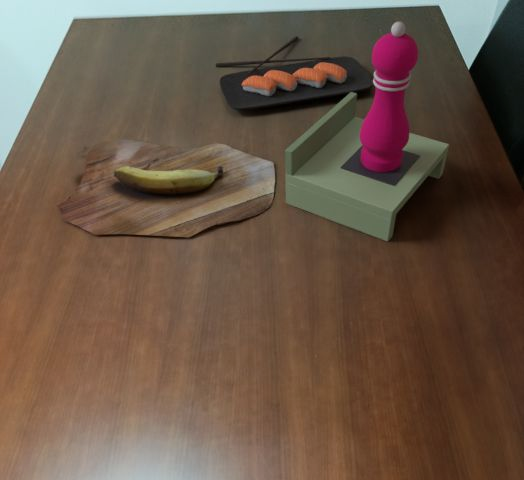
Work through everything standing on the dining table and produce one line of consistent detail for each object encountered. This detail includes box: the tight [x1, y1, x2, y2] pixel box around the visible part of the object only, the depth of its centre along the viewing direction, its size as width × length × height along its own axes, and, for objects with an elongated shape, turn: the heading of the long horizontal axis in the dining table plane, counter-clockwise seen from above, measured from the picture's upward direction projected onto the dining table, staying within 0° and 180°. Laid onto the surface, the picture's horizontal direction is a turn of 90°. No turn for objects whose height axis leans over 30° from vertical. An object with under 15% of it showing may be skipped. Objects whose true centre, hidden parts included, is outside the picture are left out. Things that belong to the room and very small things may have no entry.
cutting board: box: [55, 138, 276, 238], centre depth 96 cm, size 35×27×4 cm
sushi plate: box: [215, 35, 374, 111], centre depth 119 cm, size 29×30×4 cm
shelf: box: [284, 92, 450, 242], centre depth 91 cm, size 18×20×10 cm
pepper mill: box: [360, 21, 419, 172], centre depth 82 cm, size 7×7×20 cm
